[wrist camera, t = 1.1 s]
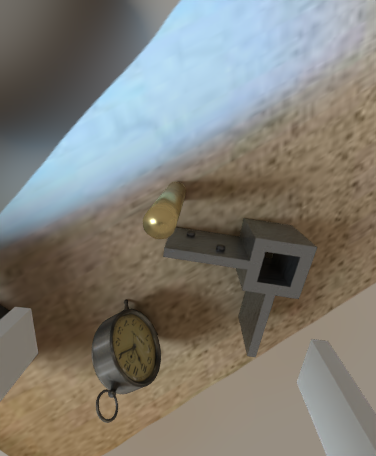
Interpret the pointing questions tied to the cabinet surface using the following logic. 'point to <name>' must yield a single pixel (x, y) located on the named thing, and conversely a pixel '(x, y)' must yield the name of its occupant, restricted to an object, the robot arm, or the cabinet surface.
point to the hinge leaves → (251, 266)
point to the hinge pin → (165, 212)
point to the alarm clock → (125, 354)
